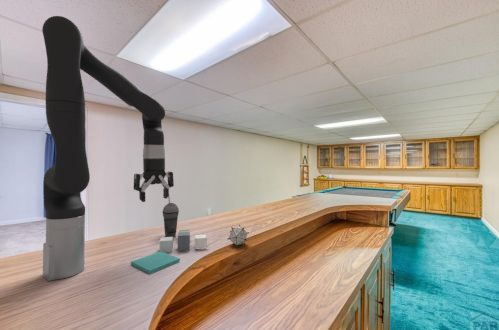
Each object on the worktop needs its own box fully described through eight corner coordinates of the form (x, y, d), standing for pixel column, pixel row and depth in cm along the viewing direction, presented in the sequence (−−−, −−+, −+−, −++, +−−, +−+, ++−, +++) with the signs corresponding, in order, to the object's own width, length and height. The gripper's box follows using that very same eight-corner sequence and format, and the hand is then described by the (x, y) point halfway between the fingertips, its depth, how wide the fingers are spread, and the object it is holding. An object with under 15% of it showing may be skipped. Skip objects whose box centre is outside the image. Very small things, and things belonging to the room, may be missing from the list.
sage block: (189, 242, 96) (189, 231, 96) (178, 242, 95) (178, 232, 95) (189, 238, 100) (189, 228, 101) (179, 239, 99) (179, 229, 99)
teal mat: (149, 274, 67) (149, 270, 67) (131, 264, 74) (131, 261, 74) (179, 261, 76) (179, 258, 76) (160, 253, 83) (160, 251, 83)
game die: (237, 252, 95) (240, 229, 101) (251, 249, 90) (254, 226, 96) (221, 245, 90) (225, 222, 96) (235, 242, 85) (239, 218, 91)
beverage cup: (175, 239, 99) (176, 194, 99) (159, 239, 99) (159, 194, 99) (180, 234, 106) (181, 192, 106) (165, 234, 106) (166, 192, 107)
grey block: (171, 252, 85) (172, 240, 85) (159, 253, 84) (159, 241, 84) (172, 247, 89) (173, 236, 89) (160, 248, 88) (161, 237, 88)
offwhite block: (206, 249, 88) (206, 237, 88) (194, 250, 87) (195, 238, 87) (205, 245, 93) (205, 234, 93) (194, 246, 91) (194, 235, 91)
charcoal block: (189, 250, 87) (189, 235, 87) (177, 251, 85) (177, 235, 85) (189, 246, 91) (189, 231, 91) (178, 247, 90) (178, 232, 90)
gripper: (138, 157, 75) (139, 204, 76) (176, 157, 86) (177, 198, 87) (130, 157, 80) (131, 201, 81) (167, 156, 91) (167, 195, 92)
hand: (154, 199), depth 84 cm, fingers open, 8 cm apart
